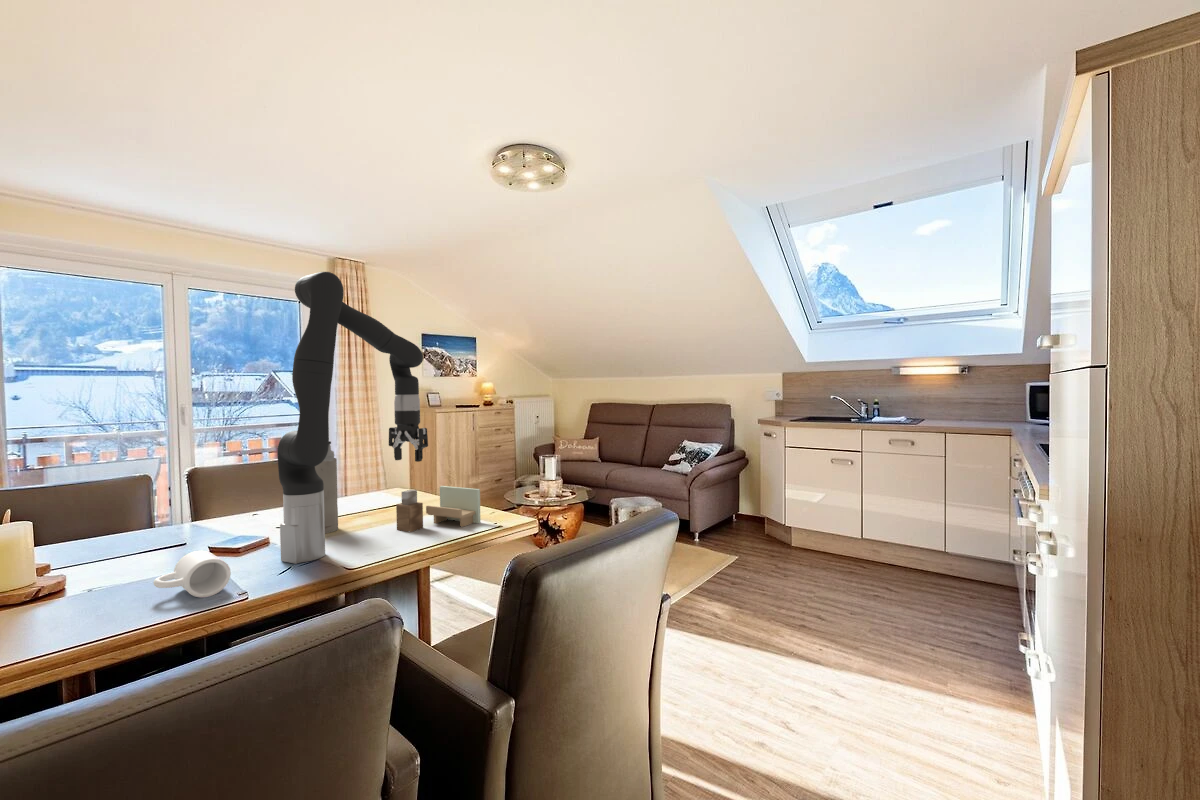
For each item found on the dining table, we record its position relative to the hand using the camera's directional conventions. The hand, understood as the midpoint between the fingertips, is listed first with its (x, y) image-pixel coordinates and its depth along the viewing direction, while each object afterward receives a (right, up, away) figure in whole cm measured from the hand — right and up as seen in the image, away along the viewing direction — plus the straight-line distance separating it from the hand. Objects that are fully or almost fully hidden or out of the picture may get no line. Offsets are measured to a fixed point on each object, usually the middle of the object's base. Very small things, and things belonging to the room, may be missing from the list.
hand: (408, 460), depth 161 cm
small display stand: (+12, -21, +6) cm, 25 cm away
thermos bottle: (-26, -22, 0) cm, 34 cm away
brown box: (0, -22, 0) cm, 22 cm away
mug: (-28, -23, -50) cm, 62 cm away
